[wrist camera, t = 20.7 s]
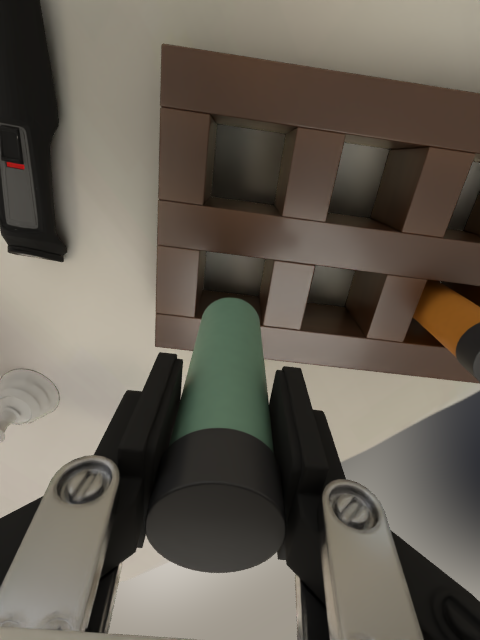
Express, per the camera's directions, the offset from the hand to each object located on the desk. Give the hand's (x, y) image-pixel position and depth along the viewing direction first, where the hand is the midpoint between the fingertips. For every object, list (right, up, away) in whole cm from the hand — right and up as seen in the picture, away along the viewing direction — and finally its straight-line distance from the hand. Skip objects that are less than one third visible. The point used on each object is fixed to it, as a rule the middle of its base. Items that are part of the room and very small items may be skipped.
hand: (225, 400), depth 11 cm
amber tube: (+13, +5, +14) cm, 20 cm away
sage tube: (0, +2, +5) cm, 6 cm away
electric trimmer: (-12, +14, +10) cm, 21 cm away
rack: (+7, +9, +12) cm, 17 cm away
